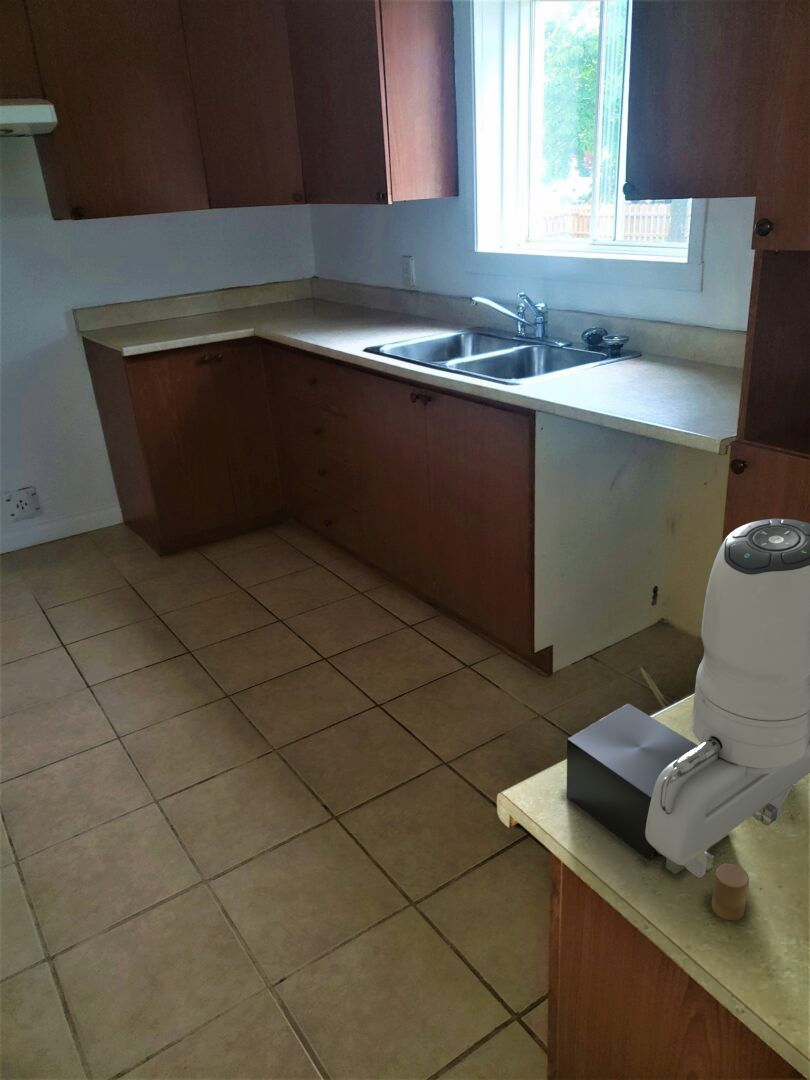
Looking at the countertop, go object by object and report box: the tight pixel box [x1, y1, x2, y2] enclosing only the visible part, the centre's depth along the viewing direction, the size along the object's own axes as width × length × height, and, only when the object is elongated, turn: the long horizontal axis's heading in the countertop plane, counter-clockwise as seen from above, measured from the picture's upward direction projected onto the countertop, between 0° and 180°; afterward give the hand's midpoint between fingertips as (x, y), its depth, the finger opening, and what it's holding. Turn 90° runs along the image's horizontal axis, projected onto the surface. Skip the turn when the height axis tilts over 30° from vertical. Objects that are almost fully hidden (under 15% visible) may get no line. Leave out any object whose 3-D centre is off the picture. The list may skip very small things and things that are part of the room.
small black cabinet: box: [566, 703, 699, 862], centre depth 86 cm, size 11×9×9 cm
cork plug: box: [711, 862, 750, 921], centre depth 74 cm, size 3×3×5 cm
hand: (732, 843), depth 72 cm, fingers open, 8 cm apart
